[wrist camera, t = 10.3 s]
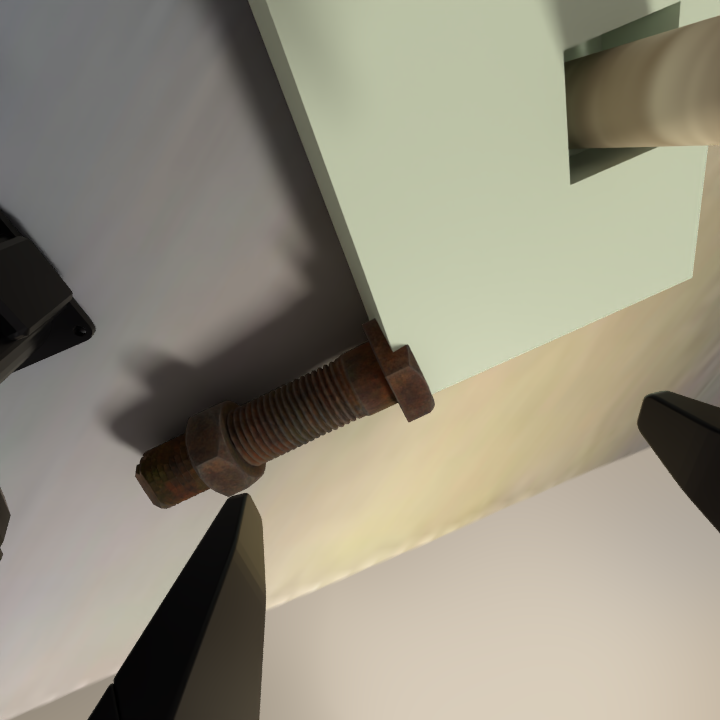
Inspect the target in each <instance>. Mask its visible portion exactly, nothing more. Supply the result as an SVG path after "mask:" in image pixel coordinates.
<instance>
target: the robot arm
mask: <svg viewBox="0 0 720 720" xmlns="http://www.w3.org/2000/svg"><path fill="white" fill-rule="evenodd" d="M72 294H73V293H72V291H71V290H70V288H69V287H68V286H67V285H66V283H65V282H64V281H63V280H62V278H61V277H60V276H59V275H58V274H57V272H56V271H55V270H54V269H53V267H52V266H51V265H50V264H49V262H48V261H47V260H46V259H45V258H44V256H43V255H42V254H41V253H40V251H39V250H38V249H37V248H36V246H35V245H34V244H33V243H32V242H31V240H29V239H27V238H25V237H22V236H21V234H20V233H19V232H18V231H17V229H16V228H15V227H14V226H13V225H12V223H11V222H10V221H9V220H8V218H7V217H6V216H5V215H4V214H3V212H2V211H1V210H0V384H1V383H2V382H3V381H4V380H5V379H6V378H7V377H8V376H9V375H10V374H11V373H13V372H15V371H17V370H20V369H22V368H24V367H27V366H29V365H31V364H34V363H36V362H38V361H41V360H43V359H45V358H48V357H50V356H52V355H55V354H57V353H59V352H61V351H64V350H66V349H68V348H71V347H73V346H75V345H78V344H80V343H82V342H85V341H87V340H89V339H90V338H91V337H92V336H93V335H94V333H95V331H96V329H95V325H94V324H93V322H92V321H91V320H90V319H89V317H88V316H87V315H86V314H85V312H84V311H83V310H82V309H81V308H80V306H79V305H78V304H77V303H76V301H75V300H74V299H73V298H72ZM76 326H82V327H83V328H85V330H86V333H82V332H80V331H78V330H77V328H76ZM637 425H638V429H639V431H640V433H641V434H642V435H643V437H644V438H645V440H646V441H647V442H648V444H649V445H650V446H651V448H652V449H653V451H654V452H655V453H656V455H657V456H658V457H659V459H660V460H661V462H662V463H663V464H664V466H665V467H666V468H667V470H668V471H669V473H670V474H671V475H672V477H673V478H674V480H675V481H676V482H677V483H678V485H679V486H680V487H681V488H682V490H683V491H684V492H685V494H686V495H687V496H688V497H689V498H690V500H691V501H692V502H693V503H694V504H695V505H696V506H697V508H698V509H699V510H700V511H701V512H702V513H703V514H704V516H705V517H706V518H707V519H708V520H709V521H710V522H711V524H712V525H713V526H714V527H715V528H716V529H717V530H718V531H719V533H720V408H719V407H716V406H713V405H710V404H707V403H704V402H701V401H698V400H695V399H691V398H688V397H685V396H682V395H679V394H676V393H673V392H670V391H659V392H655V393H651V394H648V395H646V396H645V397H644V399H643V402H642V406H641V409H640V413H639V416H638V420H637ZM10 516H11V515H10V512H9V509H8V506H7V503H6V500H5V497H4V495H3V492H2V490H1V488H0V547H1V545H2V543H3V541H4V538H5V534H6V530H7V527H8V523H9V519H10ZM2 556H3V553H2V551H1V549H0V560H1V559H2ZM265 611H266V584H265V564H264V544H263V526H262V519H261V516H260V514H259V512H258V510H257V508H256V506H255V504H254V502H253V500H252V498H251V496H250V495H249V494H248V493H243V494H239V495H235V496H231V497H229V498H228V499H227V500H226V502H225V504H224V505H223V507H222V508H221V510H220V511H219V513H218V515H217V516H216V518H215V519H214V521H213V522H212V524H211V526H210V527H209V529H208V530H207V532H206V534H205V535H204V537H203V538H202V540H201V541H200V543H199V545H198V546H197V548H196V549H195V551H194V553H193V554H192V556H191V557H190V559H189V560H188V562H187V564H186V565H185V567H184V568H183V570H182V572H181V573H180V575H179V576H178V578H177V579H176V581H175V583H174V584H173V586H172V587H171V589H170V591H169V592H168V594H167V595H166V597H165V598H164V600H163V602H162V603H161V605H160V606H159V608H158V609H157V611H156V613H155V614H154V616H153V617H152V619H151V621H150V622H149V624H148V625H147V627H146V628H145V630H144V632H143V633H142V635H141V636H140V638H139V640H138V641H137V643H136V644H135V646H134V647H133V649H132V651H131V652H130V654H129V655H128V657H127V659H126V660H125V662H124V663H123V665H122V666H121V668H120V670H119V671H118V673H117V674H116V676H115V678H114V684H113V683H112V684H110V685H109V687H108V688H107V690H106V691H105V693H104V695H103V696H102V698H101V699H100V701H99V703H98V704H97V706H96V707H95V709H94V710H93V712H92V714H91V715H90V717H89V718H88V720H259V714H260V697H261V680H262V662H263V644H264V628H265Z"/></svg>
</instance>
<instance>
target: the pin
mask: <svg viewBox="0 0 720 720" xmlns="http://www.w3.org/2000/svg"><path fill="white" fill-rule="evenodd" d="M564 74H565V93H566V112H567V131H568V149H583V148H624V147H664V146H705V145H720V15H719V16H716V17H712V18H709V19H706V20H702V21H699V22H696V23H693V24H689V25H686V26H683V27H679V28H676V29H673V30H669V31H666V32H663V33H659V34H656V35H653V36H650V37H646V38H643V39H640V40H636V41H633V42H630V43H626V44H623V45H620V46H617V47H613V48H610V49H607V50H603V51H600V52H597V53H593V54H590V55H587V56H584V57H580V58H577V59H574V60H570V61H567V62H564Z"/></svg>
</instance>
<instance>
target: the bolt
mask: <svg viewBox="0 0 720 720" xmlns="http://www.w3.org/2000/svg"><path fill="white" fill-rule="evenodd" d="M362 328H363V330H364V332H365V334H366V336H367V339H368V342H366V343H364V344H362V345H360V346H358V347H356V348H354V349H352V350H350V351H348V352H346V353H344V354H342V355H341V356H340V357H339V358H337V359H335V361H334V362H332V361H331V362H330V363H329V366H328V365H324V366H323V369H322V368H320V367H319V368H318V369H317V371H315V370H313V371H312V372H311V374H310V373H307V374H306V375H305V376H300V378H299V379H294V381H293V382H288V384H287V385H285V384H284V385H282V387H281V388H280V387H278V388H277V389H276V390H275V391H274V390H272V391H270V393H266V394H264V396H260V397H259V398H257V399H254V400H253V401H249V402H247V404H243V405H241V406H239V405H238V404H236V403H234V402H232V401H229V400H227V401H224V402H222V403H220V404H217V405H215V406H213V407H211V408H208V409H206V410H204V411H202V412H200V413H198V414H196V415H194V416H192V417H190V418H189V419H188V423H187V427H186V432H185V433H184V434H181V435H180V436H179V437H175V438H174V439H171V440H169V441H168V442H165V443H163V444H162V445H159V446H158V447H154V448H152V449H151V450H148V451H146V452H145V453H144V454H143V456H144V457H142V458H141V460H140V464H138V465H137V467H136V475H135V477H136V478H137V480H138V482H139V483H140V485H141V486H142V488H143V490H144V491H145V493H146V494H147V495H148V497H149V498H150V500H151V501H152V503H153V504H154V505H156V506H157V507H159V508H164V509H167V508H170V507H172V506H175V505H176V504H179V503H180V502H182V501H184V500H187V499H188V498H191V497H193V496H196V495H197V494H199V493H201V492H204V491H205V490H208V489H210V488H211V489H212V490H214V491H216V492H218V493H220V494H223V495H225V496H227V497H229V496H232V495H234V494H236V493H238V492H240V491H242V490H244V489H246V488H248V487H250V486H251V485H252V484H253V483H255V482H256V481H257V480H258V479H259V478H260V477H261V476H262V475H263V473H264V471H265V467H266V462H268V461H270V460H272V459H274V458H277V457H279V456H280V455H283V454H285V453H286V452H289V451H291V450H292V449H293V450H294V449H295V448H297V447H300V446H302V445H303V444H307V443H308V442H309V441H313V440H314V439H315V438H319V437H320V435H325V434H326V432H328V433H329V432H331V431H332V429H334V430H336V429H338V426H339V427H343V426H344V424H349V423H350V420H351V421H356V417H357V418H359V419H360V418H362V417H364V416H370V415H373V414H375V413H377V412H379V411H381V410H383V409H386V408H388V407H390V406H392V405H394V404H396V403H399V405H400V407H401V409H402V411H403V413H404V415H405V417H406V418H407V420H408V422H411V421H413V420H415V419H417V418H419V417H422V416H424V415H426V414H428V413H430V412H431V411H432V410H433V408H434V406H435V403H434V399H433V396H432V394H431V391H430V389H429V386H428V384H427V382H426V380H425V378H424V375H423V373H422V371H421V369H420V367H419V365H418V363H417V361H416V359H415V357H414V355H413V353H412V351H411V349H410V347H409V345H408V344H407V345H405V346H403V347H401V348H400V349H398V350H396V351H395V352H393V351H392V349H391V347H390V345H389V343H388V341H387V340H386V338H385V336H384V334H383V332H382V330H381V328H380V326H379V324H378V322H377V320H376V318H374V319H372V320H370V321H368V322H366V323H364V324H362Z"/></svg>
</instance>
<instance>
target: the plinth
mask: <svg viewBox="0 0 720 720" xmlns="http://www.w3.org/2000/svg"><path fill="white" fill-rule="evenodd" d="M248 2H249V5H250V7H251V10H252V13H253V15H254V18H255V21H256V23H257V26H258V28H259V31H260V34H261V36H262V39H263V42H264V44H265V47H266V49H267V52H268V55H269V57H270V60H271V63H272V65H273V68H274V70H275V73H276V76H277V78H278V81H279V84H280V86H281V89H282V92H283V94H284V97H285V99H286V102H287V105H288V107H289V110H290V113H291V115H292V118H293V120H294V123H295V126H296V128H297V131H298V134H299V136H300V139H301V141H302V144H303V147H304V149H305V152H306V155H307V157H308V160H309V162H310V165H311V168H312V170H313V173H314V176H315V178H316V181H317V184H318V186H319V189H320V191H321V194H322V197H323V199H324V202H325V205H326V207H327V210H328V212H329V215H330V218H331V220H332V223H333V226H334V228H335V231H336V233H337V236H338V239H339V241H340V244H341V247H342V249H343V252H344V255H345V257H346V260H347V262H348V265H349V268H350V270H351V273H352V276H353V278H354V281H355V283H356V286H357V289H358V291H359V294H360V297H361V299H362V302H363V304H364V307H365V310H366V312H367V315H368V318H369V320H372V319H374V318H376V320H377V322H378V324H379V326H380V328H381V330H382V332H383V334H384V336H385V338H386V340H387V341H388V343H389V345H390V347H391V349H392V351H393V352H395V351H396V350H398V349H400V348H401V347H403V346H405V345H407V344H408V345H409V347H410V349H411V351H412V353H413V355H414V357H415V359H416V361H417V363H418V365H419V367H420V369H421V371H422V373H423V375H424V378H425V380H426V382H427V384H428V386H429V389H430V391H431V394H434V393H436V392H439V391H441V390H443V389H445V388H448V387H450V386H452V385H454V384H457V383H459V382H461V381H463V380H465V379H468V378H470V377H472V376H474V375H477V374H479V373H481V372H483V371H486V370H488V369H490V368H492V367H494V366H497V365H499V364H501V363H503V362H506V361H508V360H510V359H512V358H514V357H517V356H519V355H521V354H523V353H526V352H528V351H530V350H532V349H535V348H537V347H539V346H541V345H543V344H546V343H548V342H550V341H552V340H555V339H557V338H559V337H561V336H564V335H566V334H568V333H570V332H572V331H575V330H577V329H579V328H581V327H584V326H586V325H588V324H590V323H593V322H595V321H597V320H599V319H601V318H604V317H606V316H608V315H610V314H613V313H615V312H617V311H619V310H622V309H624V308H626V307H628V306H630V305H633V304H635V303H637V302H639V301H642V300H644V299H646V298H648V297H650V296H653V295H655V294H657V293H659V292H662V291H664V290H666V289H668V288H671V287H673V286H675V285H677V284H679V283H682V282H684V281H686V280H688V279H691V278H692V275H693V267H694V259H695V250H696V242H697V234H698V226H699V217H700V209H701V201H702V192H703V184H704V176H705V168H706V159H707V151H708V145H705V146H664V147H624V148H583V149H568V131H567V112H566V93H565V74H564V62H567V61H570V60H574V59H577V58H580V57H584V56H587V55H590V54H593V53H597V52H600V51H603V50H607V49H610V48H613V47H617V46H620V45H623V44H626V43H630V42H633V41H636V40H640V39H643V38H646V37H650V36H653V35H656V34H659V33H663V32H666V31H669V30H673V29H676V28H679V27H683V26H686V25H689V24H693V23H696V22H699V21H702V20H706V19H709V18H712V17H716V16H719V15H720V0H248Z"/></svg>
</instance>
